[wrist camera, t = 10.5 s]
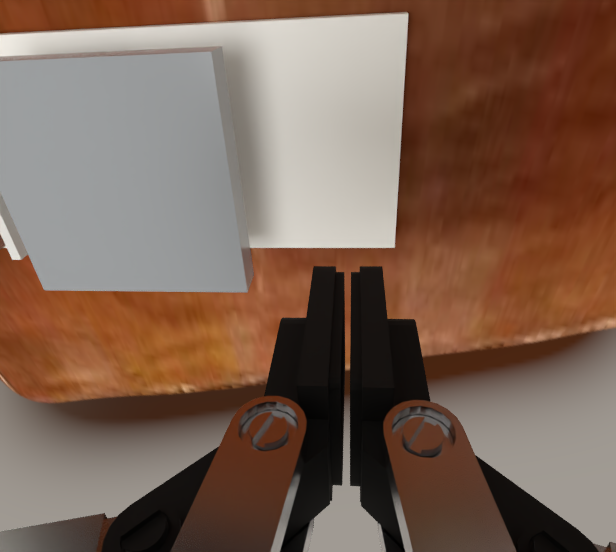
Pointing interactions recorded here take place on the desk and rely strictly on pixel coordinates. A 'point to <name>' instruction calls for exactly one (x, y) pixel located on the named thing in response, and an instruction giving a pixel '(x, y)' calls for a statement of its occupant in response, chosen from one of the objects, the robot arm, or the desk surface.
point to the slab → (124, 170)
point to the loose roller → (1, 242)
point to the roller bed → (288, 118)
